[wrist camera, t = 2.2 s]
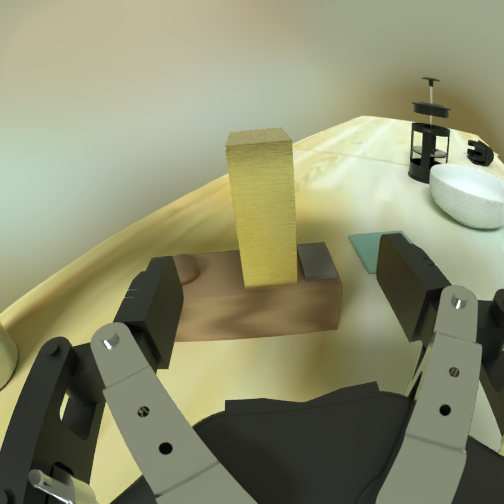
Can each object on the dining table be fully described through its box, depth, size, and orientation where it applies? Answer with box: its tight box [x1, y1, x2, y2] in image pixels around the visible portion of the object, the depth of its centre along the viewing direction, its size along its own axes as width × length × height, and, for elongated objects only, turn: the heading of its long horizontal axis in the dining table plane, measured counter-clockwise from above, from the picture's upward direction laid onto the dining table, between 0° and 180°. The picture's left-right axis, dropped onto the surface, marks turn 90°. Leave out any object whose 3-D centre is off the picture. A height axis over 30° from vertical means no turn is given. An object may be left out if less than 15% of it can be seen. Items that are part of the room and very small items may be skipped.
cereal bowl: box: [429, 164, 504, 229], centre depth 37 cm, size 17×17×7 cm
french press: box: [408, 77, 451, 184], centre depth 50 cm, size 12×9×23 cm
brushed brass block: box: [225, 128, 297, 290], centre depth 22 cm, size 4×6×11 cm, turn 1°
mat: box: [349, 231, 413, 274], centre depth 34 cm, size 8×8×1 cm
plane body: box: [173, 242, 342, 342], centre depth 26 cm, size 15×6×6 cm, turn 91°
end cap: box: [467, 140, 494, 166], centre depth 67 cm, size 10×7×7 cm
